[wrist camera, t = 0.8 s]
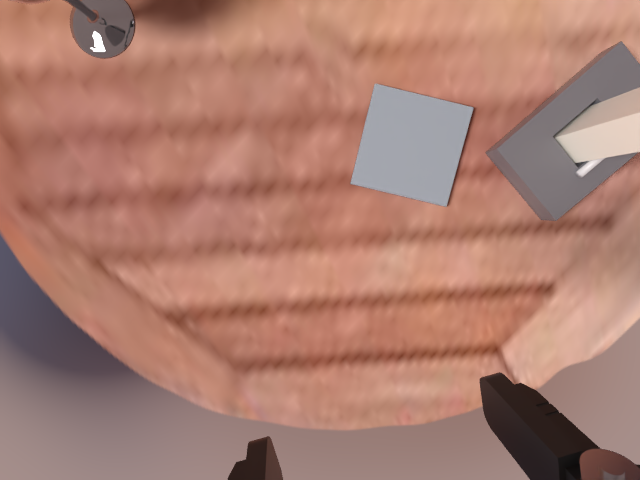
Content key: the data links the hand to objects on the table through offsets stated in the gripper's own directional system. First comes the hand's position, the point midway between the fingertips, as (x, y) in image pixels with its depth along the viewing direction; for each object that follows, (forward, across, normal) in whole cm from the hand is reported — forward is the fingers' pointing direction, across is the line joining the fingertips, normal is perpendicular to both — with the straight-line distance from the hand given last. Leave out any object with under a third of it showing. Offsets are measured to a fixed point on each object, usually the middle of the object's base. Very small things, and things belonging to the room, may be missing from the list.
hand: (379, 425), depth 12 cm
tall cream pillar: (+26, -30, -5) cm, 40 cm away
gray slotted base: (+26, -30, -5) cm, 40 cm away
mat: (+28, -13, -8) cm, 32 cm away
